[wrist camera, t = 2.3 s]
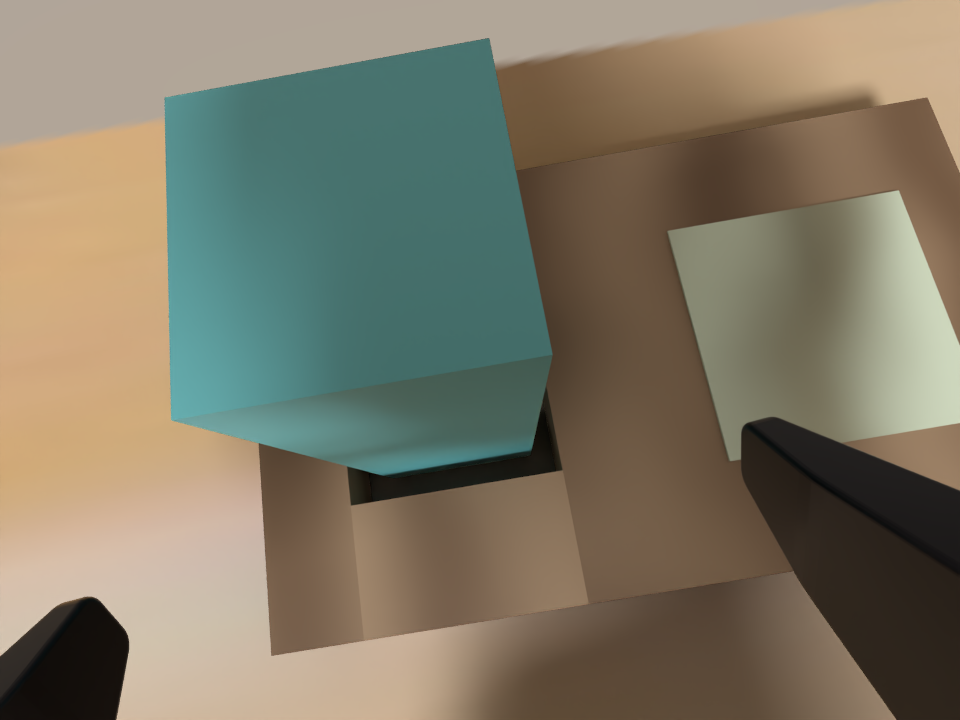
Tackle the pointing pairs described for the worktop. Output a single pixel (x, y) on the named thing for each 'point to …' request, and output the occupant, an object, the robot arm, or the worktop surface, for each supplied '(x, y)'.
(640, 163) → the puzzle board
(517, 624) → the worktop surface
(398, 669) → the worktop surface
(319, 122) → the teal block
